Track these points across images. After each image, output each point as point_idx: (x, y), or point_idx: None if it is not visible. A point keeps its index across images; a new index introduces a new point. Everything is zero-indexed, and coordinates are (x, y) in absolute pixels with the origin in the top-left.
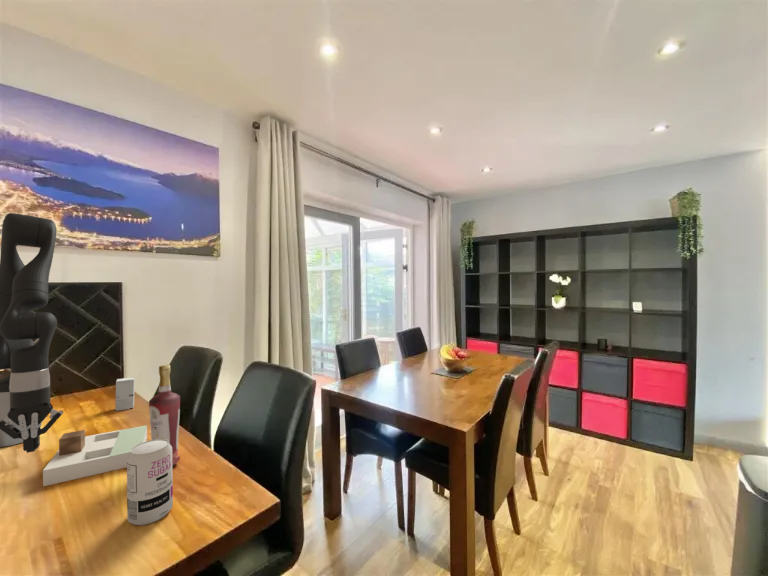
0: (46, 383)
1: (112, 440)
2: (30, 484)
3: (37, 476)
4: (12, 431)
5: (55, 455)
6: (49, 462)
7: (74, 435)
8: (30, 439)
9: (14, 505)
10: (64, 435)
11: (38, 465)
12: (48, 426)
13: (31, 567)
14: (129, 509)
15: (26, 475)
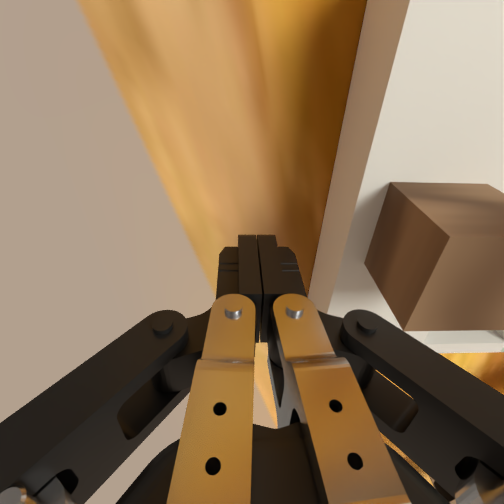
0: None
1: None
2: None
3: (275, 232)
4: (142, 433)
5: (349, 247)
6: (330, 307)
7: (486, 309)
8: (262, 337)
9: (260, 363)
10: (442, 280)
11: (252, 100)
12: (396, 415)
13: None
14: (435, 488)
15: (233, 200)
